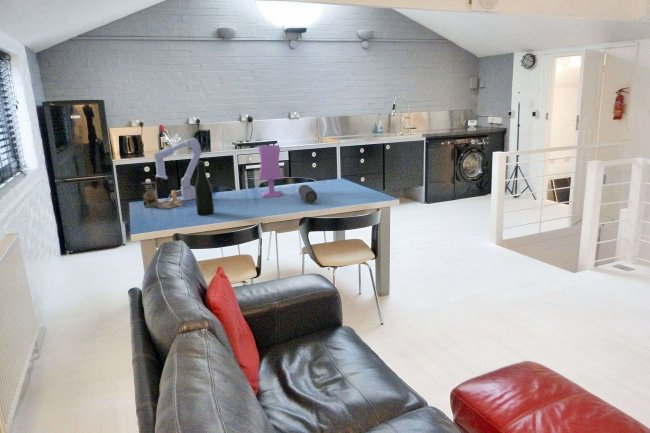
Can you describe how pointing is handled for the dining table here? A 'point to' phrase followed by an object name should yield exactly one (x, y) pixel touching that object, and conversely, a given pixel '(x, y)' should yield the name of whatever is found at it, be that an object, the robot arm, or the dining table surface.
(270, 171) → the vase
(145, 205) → the coffee box
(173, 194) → the dowel
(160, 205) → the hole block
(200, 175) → the beer bottle
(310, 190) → the bluetooth speaker
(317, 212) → the dining table surface
